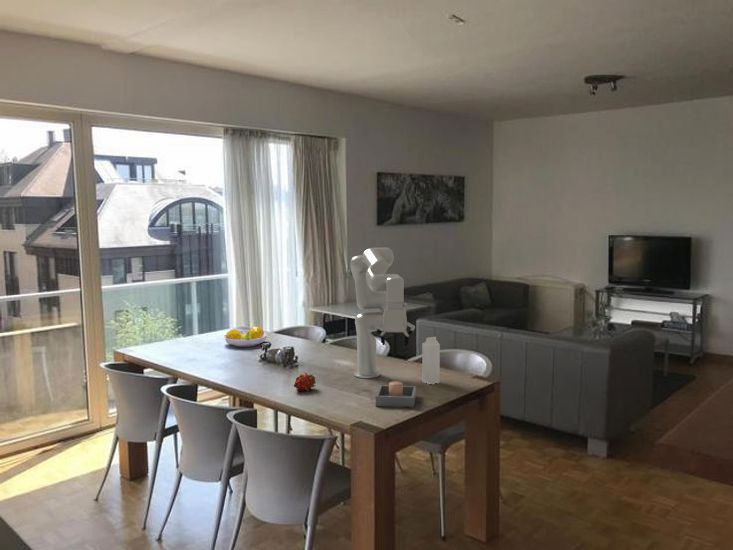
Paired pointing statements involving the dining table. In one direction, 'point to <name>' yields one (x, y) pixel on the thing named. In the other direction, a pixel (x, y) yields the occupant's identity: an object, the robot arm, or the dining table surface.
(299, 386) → the dragon fruit
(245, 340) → the fruit bowl
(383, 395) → the bin
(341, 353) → the dining table surface
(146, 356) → the dining table surface
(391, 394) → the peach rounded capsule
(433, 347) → the milk
